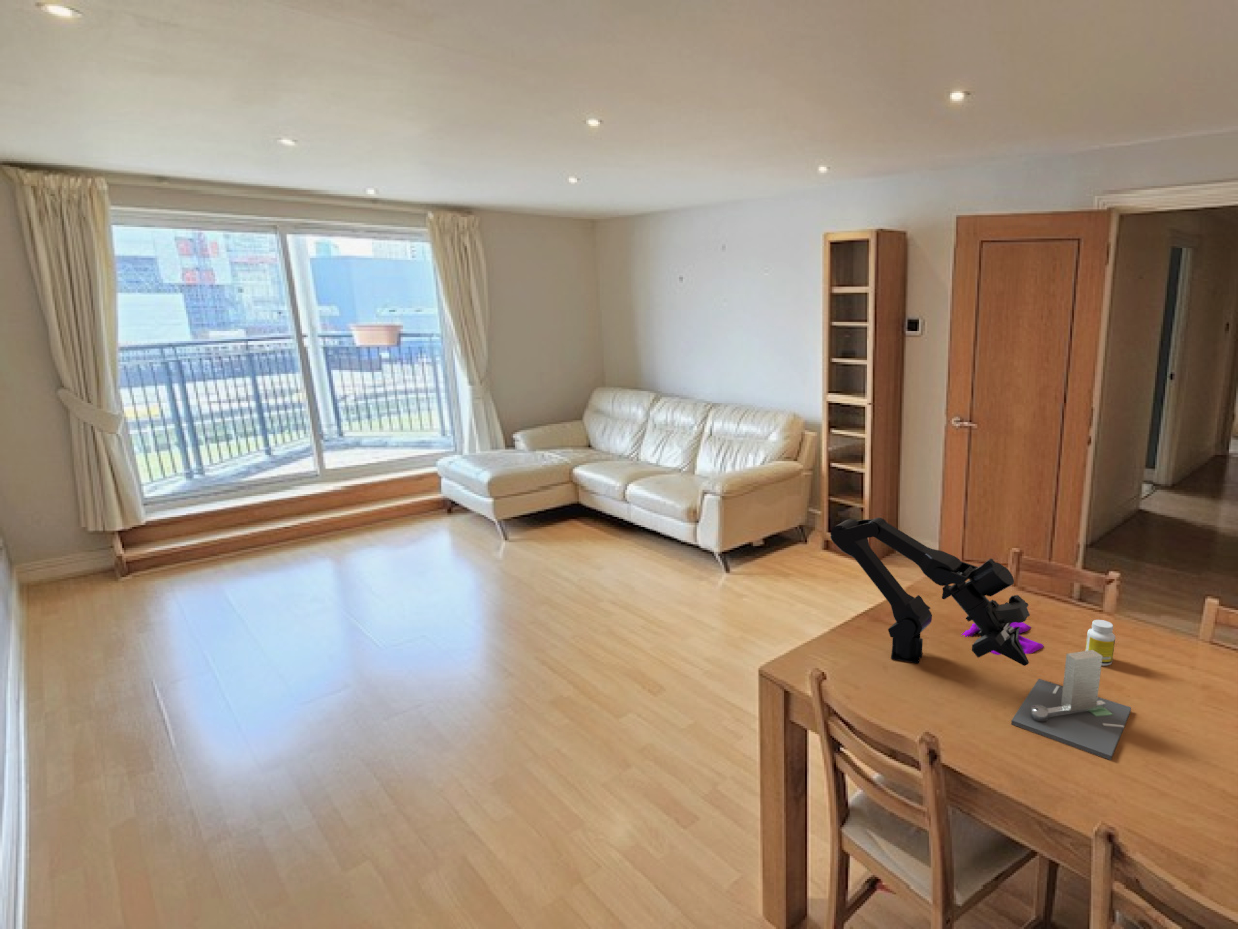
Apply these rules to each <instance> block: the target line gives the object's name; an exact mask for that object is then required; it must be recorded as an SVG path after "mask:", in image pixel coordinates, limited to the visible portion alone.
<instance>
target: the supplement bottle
mask: <svg viewBox="0 0 1238 929" xmlns="http://www.w3.org/2000/svg"><path fill="white" fill-rule="evenodd" d="M1091 622H1092V624H1091V628H1089V629H1088V630H1087V635H1086V640H1085V641H1086V642H1085V649H1084V651H1089V650H1094V651H1095V652H1097V653H1099V654H1100V655H1102V664H1101V667H1103V666H1104V667H1105V666H1110V665H1111V664H1112V663H1113V660H1114V659H1113V658H1114V650H1115V642H1116V635H1115V634H1114V633H1113V630H1114V625H1113V623H1112V622H1110V621H1108V620H1103V619H1094V620H1093V621H1091Z"/></svg>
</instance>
